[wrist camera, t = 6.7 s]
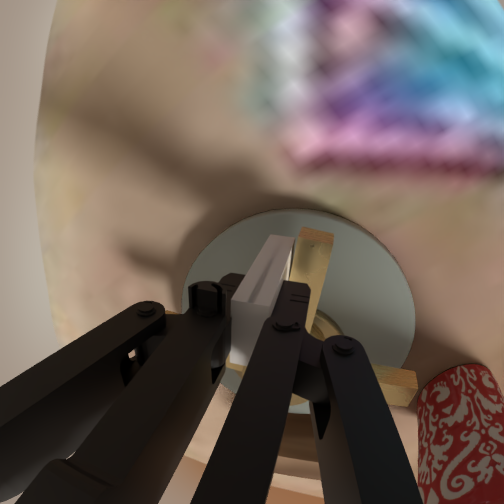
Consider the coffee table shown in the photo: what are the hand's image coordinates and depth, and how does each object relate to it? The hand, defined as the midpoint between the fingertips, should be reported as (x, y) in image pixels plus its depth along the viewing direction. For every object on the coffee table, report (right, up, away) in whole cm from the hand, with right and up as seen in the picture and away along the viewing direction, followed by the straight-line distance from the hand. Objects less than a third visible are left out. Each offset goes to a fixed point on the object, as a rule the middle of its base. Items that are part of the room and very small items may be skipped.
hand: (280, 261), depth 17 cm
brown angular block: (+5, -15, +9) cm, 18 cm away
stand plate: (+2, -4, +6) cm, 7 cm away
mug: (+17, -12, +4) cm, 21 cm away
